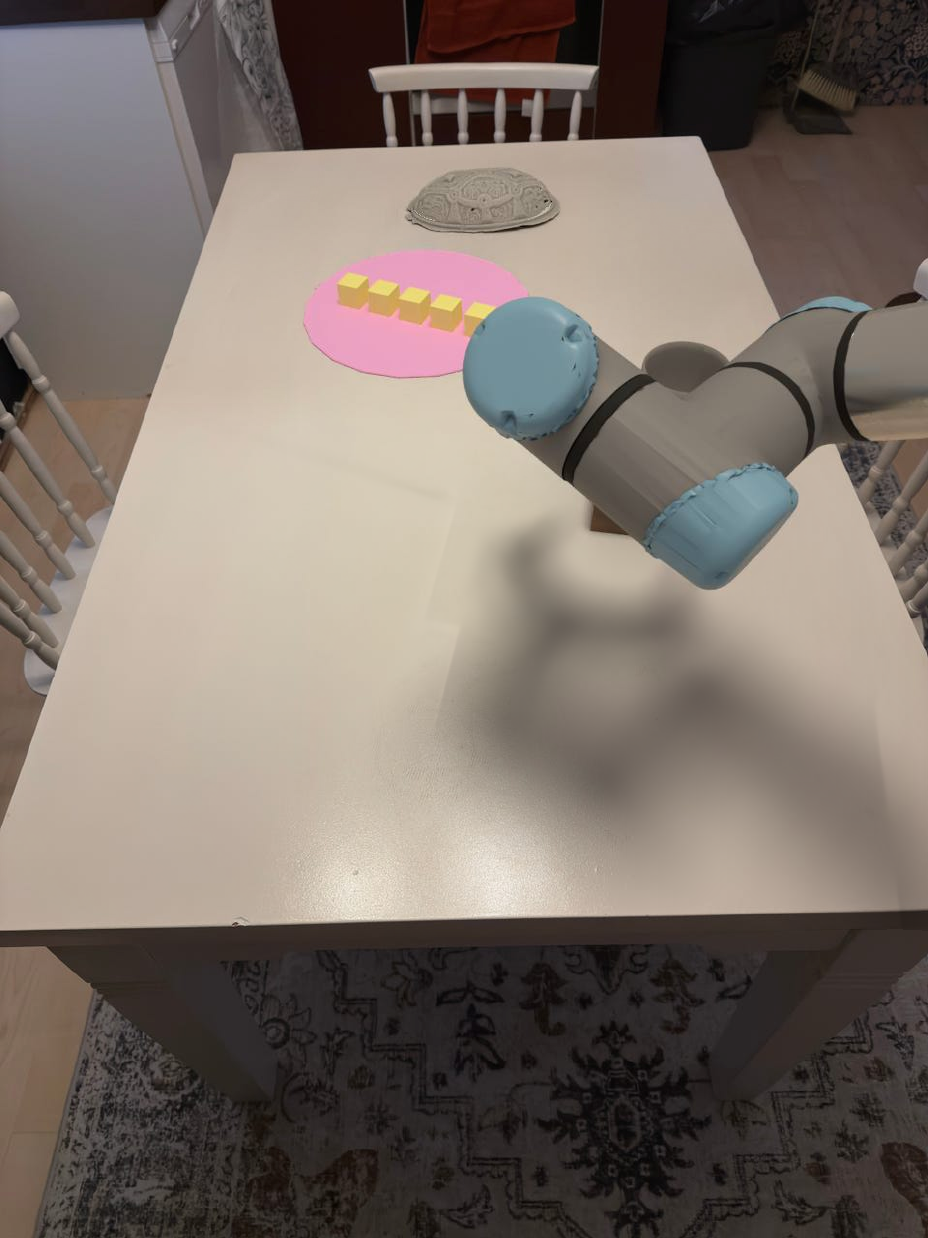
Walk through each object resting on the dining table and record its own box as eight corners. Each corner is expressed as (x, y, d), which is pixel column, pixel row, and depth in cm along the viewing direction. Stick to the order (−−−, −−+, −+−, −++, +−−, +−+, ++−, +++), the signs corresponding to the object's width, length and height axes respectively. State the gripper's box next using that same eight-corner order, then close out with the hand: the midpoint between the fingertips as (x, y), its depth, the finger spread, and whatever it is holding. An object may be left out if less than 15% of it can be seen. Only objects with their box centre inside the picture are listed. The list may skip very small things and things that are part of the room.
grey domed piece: (566, 225, 129) (566, 178, 125) (406, 240, 130) (400, 194, 125) (555, 189, 140) (555, 145, 135) (407, 203, 141) (402, 160, 136)
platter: (474, 402, 104) (473, 379, 101) (258, 344, 113) (253, 321, 110) (564, 276, 121) (566, 253, 119) (372, 234, 130) (370, 212, 128)
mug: (632, 412, 92) (645, 336, 85) (713, 421, 91) (734, 344, 84) (623, 486, 85) (636, 409, 78) (711, 496, 84) (733, 419, 76)
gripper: (421, 410, 63) (512, 450, 83) (737, 526, 55) (756, 541, 75) (455, 312, 62) (540, 377, 82) (785, 417, 54) (792, 461, 73)
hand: (643, 455), depth 78 cm, fingers open, 13 cm apart
